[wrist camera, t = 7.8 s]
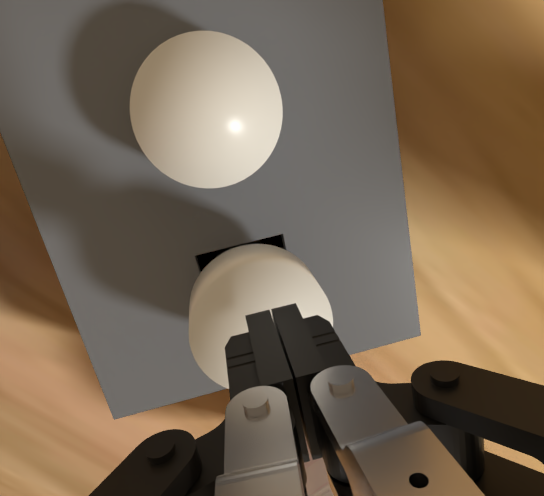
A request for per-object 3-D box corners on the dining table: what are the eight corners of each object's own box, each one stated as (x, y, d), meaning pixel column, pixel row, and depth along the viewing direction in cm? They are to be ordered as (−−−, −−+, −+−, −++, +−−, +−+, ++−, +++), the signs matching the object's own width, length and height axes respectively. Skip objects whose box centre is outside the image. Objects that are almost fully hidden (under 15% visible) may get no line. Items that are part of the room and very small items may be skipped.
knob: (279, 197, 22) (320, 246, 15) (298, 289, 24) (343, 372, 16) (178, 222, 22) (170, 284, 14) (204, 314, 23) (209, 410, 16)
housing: (299, -217, 19) (343, -345, 14) (373, 285, 27) (420, 335, 21) (-50, -158, 18) (-160, -272, 12) (131, 348, 26) (114, 419, 20)
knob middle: (242, 41, 21) (265, 15, 14) (264, 146, 23) (295, 169, 16) (137, 64, 21) (108, 48, 14) (167, 169, 23) (154, 203, 15)
